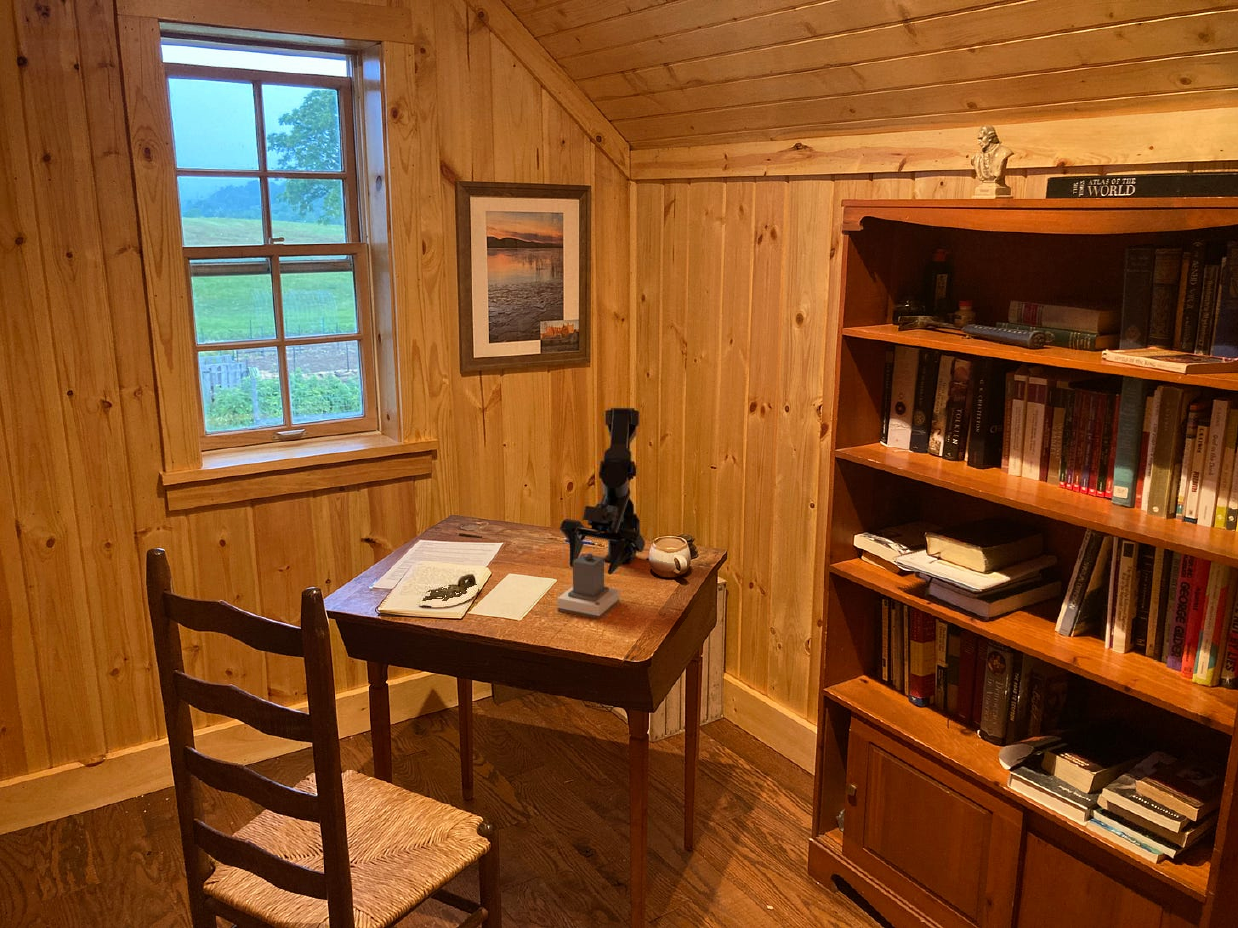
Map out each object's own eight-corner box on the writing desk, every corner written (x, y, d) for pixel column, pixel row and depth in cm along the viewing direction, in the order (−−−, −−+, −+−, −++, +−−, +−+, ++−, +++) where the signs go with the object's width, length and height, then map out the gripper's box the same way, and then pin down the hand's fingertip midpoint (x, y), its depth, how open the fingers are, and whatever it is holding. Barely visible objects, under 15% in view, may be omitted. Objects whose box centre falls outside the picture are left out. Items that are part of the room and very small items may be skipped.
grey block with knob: (582, 594, 219) (581, 547, 216) (609, 599, 216) (608, 552, 213) (568, 605, 213) (567, 557, 210) (595, 610, 210) (595, 562, 207)
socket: (579, 594, 221) (579, 580, 220) (619, 601, 217) (619, 587, 216) (557, 610, 213) (557, 596, 212) (599, 619, 209) (599, 605, 208)
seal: (432, 619, 212) (488, 598, 222) (432, 599, 210) (489, 579, 220) (408, 602, 218) (464, 582, 228) (408, 583, 216) (464, 564, 226)
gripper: (562, 484, 217) (538, 547, 211) (639, 495, 210) (617, 561, 203) (579, 507, 226) (557, 568, 220) (654, 519, 219) (633, 583, 212)
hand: (590, 570), depth 214 cm, fingers open, 9 cm apart
